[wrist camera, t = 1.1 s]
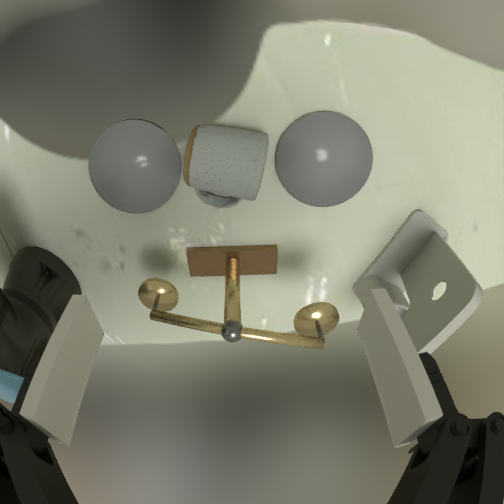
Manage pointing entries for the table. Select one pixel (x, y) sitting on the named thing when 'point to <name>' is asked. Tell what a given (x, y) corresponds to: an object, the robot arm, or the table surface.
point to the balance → (237, 297)
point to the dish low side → (135, 166)
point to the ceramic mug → (225, 163)
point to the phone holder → (422, 281)
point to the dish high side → (324, 158)
